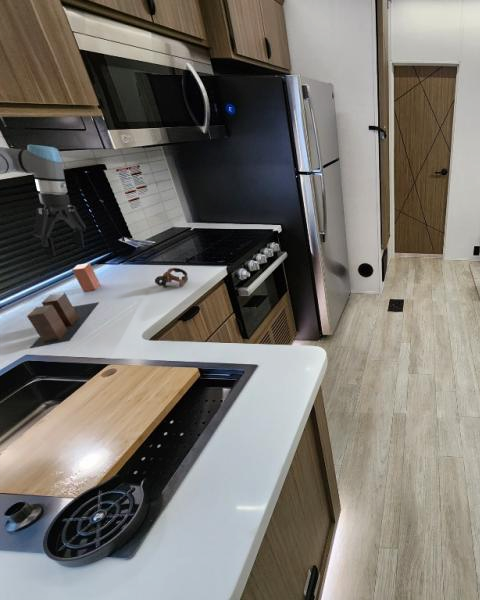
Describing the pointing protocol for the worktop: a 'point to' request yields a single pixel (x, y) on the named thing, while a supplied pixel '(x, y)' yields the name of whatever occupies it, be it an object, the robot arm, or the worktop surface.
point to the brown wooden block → (62, 308)
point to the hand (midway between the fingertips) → (66, 251)
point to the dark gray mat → (83, 314)
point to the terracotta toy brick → (86, 277)
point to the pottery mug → (171, 277)
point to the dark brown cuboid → (47, 323)
